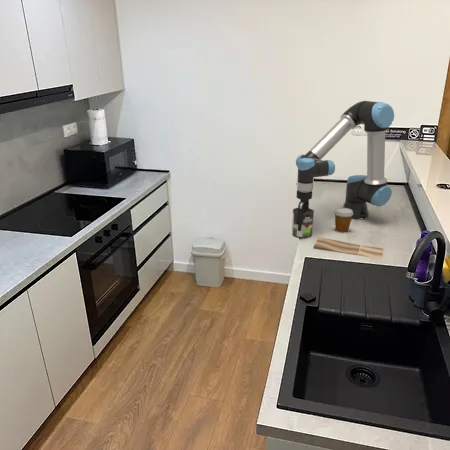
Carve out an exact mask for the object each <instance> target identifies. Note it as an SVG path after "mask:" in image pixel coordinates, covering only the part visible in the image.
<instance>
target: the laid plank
mask: <svg viewBox="0 0 450 450" xmlns="http://www.w3.org/2000/svg"><path fill="white" fill-rule="evenodd" d="M383 254H384V248H381V247H375V246H367V245H361V244H360V249H359V252H358V256H359V257H366V258H371V259H381V260H382V259H383Z"/></svg>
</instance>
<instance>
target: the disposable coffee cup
mask: <svg viewBox="0 0 450 450" xmlns="http://www.w3.org/2000/svg"><path fill="white" fill-rule="evenodd" d="M333 213H334V226H335V227H334V228H335V232H338V233H349V229H350V226H351V221H352V215H353V211H352V210H351V209H348V208H342V207H337V208H335V210H334V212H333Z"/></svg>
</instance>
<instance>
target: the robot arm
mask: <svg viewBox="0 0 450 450" xmlns="http://www.w3.org/2000/svg"><path fill="white" fill-rule="evenodd" d="M394 111H395V110H394V109H393V107H392V105H390V104H389V103H385V102H382V101H370V100H362V101H359V102H357V103H355V104H353V105H351V106H350V107H349V108H348V109H346V110H345V111H344V112H343V113H342V114H341V115H340V118H339V120H338V121H337V122H336V123H335V124H334V125H333V126H332V127H331V128H330V129H329V130H328V131H327V132H326V133H324V135H323V136H322V137H321V138H320V139H319V140H318V141H317V142H316V143H315V145H313V146H312V147H311V148H310V149H309V150H308V152H306V154H299V155H298V156H297V157H296V159H295V165H296V167H297V182H296V183H295V185H297V186H296V198H297V200H300V201H299V202H298V207H297V208H298V215H297V223H296V224H297V236H298V237H302V234H303V214H304V212H305V211H306V209H308V208H309V209H310V207H309V206H310V202H309V201H310V200H312V198H313V188H314V178H320V177H328V176H332V175H333V174H334V173H335V171H336V163H334V161H333V160H331V159H325V160H323V158H324V157H325V156H326V155H327V154H328V153H329V152H330V151H331V150H332V149H333V148H334V147H335V146H336V145H337V144H338V143H339V142H340V141H341V140H342V139H343V137H345V136H346V135H347V134H348V133H349V132H350V130H354V129H356V128H357V127H358V126H359V125H363V127H364V128H363V130H364V132H365V134H367V137H366V141H367V143H366V145H367V148H366V149H367V150H366V154H367V155H366V158H367V159H366V160H367V161H366V165H367V166H366V175H363V174H357V175H350V176H348V178H347V182H346V191H345V201H344V203H343V206H342V207H341V208H348V209H351V210H352V211H353V215H352V218H355V219H354V220H356V219H357V220H362V219H361V218H364V219H366V217H367V218H368V217H369V209H368V204H371V206H372V205H373V206H376V207H382V206H385V205H386V204H387V203H388V202H389V201H390V199H391V197H392V195H393V190H392V188H391V187H390V186H389V185H388V179H387V178H386V177H385V163H386V161H385V160H386V158H385V157H386V156H385V155H386V154H385V153H386V152H385V151H386V132H387V131H389V129H390V126H392V124H393V122H394V119H395V112H394ZM367 203H368V204H367ZM352 218H351V219H352Z"/></svg>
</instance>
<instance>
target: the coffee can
mask: <svg viewBox="0 0 450 450" xmlns="http://www.w3.org/2000/svg"><path fill="white" fill-rule="evenodd" d="M314 211H315V210H314V209H312V208H310V207H309V208H308V209H306V211H305V212H304V214H303V234H302V237H298V236H297V224H296V223H297V215H298V207H296V208H293V209H292V225H291V226H292V227H291V236H292V237H294V238H297V239H303V240H304V239H309V238H311V237H312V236H313V226H314V225H313V224H314V213H315V212H314Z"/></svg>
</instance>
